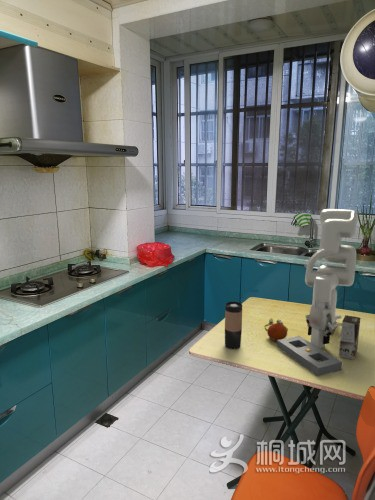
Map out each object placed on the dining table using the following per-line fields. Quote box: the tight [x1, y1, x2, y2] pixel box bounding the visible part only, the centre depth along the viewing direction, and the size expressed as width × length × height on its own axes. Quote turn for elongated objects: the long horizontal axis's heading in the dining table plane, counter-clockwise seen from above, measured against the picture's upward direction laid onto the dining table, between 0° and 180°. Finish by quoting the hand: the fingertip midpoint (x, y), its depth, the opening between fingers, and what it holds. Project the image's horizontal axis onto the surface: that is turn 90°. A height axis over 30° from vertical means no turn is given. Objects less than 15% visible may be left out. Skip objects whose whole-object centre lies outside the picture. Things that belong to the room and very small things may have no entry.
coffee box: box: [338, 314, 362, 360], centre depth 157 cm, size 9×6×16 cm
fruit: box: [266, 322, 288, 342], centre depth 172 cm, size 9×9×8 cm
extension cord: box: [264, 317, 288, 332], centre depth 186 cm, size 12×16×2 cm
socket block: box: [276, 335, 343, 377], centre depth 155 cm, size 12×26×4 cm, turn 23°
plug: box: [310, 323, 326, 349], centre depth 165 cm, size 6×6×12 cm
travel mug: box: [224, 301, 243, 350], centre depth 164 cm, size 8×8×20 cm
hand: (318, 339), depth 165 cm, fingers open, 9 cm apart
